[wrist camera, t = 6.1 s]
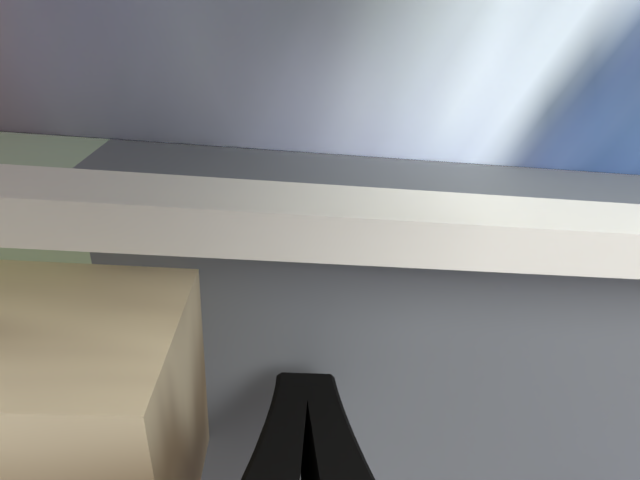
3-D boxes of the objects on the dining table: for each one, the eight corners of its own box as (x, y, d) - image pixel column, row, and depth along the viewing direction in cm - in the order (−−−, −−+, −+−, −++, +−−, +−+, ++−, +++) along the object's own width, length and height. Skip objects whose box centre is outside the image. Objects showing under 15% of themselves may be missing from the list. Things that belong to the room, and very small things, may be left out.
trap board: (551, 556, 21) (607, 683, 17) (39, 556, 20) (-27, 696, 16) (798, 185, 12) (1046, 282, 8) (-160, 120, 10) (-456, 202, 6)
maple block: (209, 438, 13) (175, 601, 9) (-3, 434, 12) (-121, 604, 9) (198, 269, 10) (143, 416, 6) (-80, 255, 10) (-299, 406, 6)
